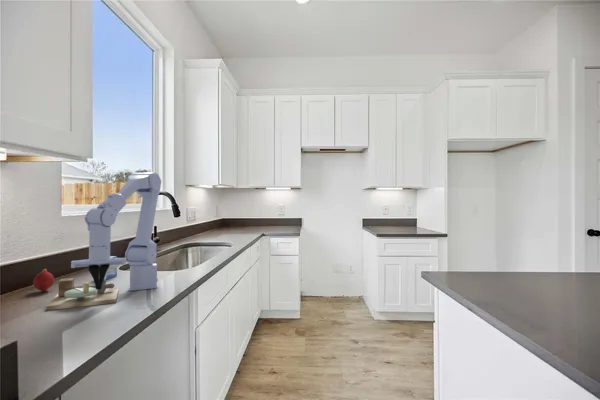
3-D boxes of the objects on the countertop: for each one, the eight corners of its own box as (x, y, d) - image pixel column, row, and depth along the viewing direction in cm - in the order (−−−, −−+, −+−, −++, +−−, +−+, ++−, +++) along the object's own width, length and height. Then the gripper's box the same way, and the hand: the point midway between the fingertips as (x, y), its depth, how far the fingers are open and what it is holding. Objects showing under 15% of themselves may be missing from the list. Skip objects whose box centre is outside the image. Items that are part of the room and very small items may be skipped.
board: (118, 291, 114) (118, 288, 114) (116, 302, 101) (116, 298, 101) (57, 297, 105) (57, 293, 105) (46, 310, 93) (46, 306, 93)
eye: (105, 289, 111) (106, 274, 111) (104, 293, 106) (104, 278, 106) (99, 290, 110) (99, 275, 110) (97, 294, 105) (97, 278, 105)
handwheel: (97, 293, 105) (98, 277, 105) (94, 300, 98) (94, 283, 98) (67, 296, 102) (67, 279, 102) (61, 304, 94) (61, 285, 94)
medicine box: (105, 280, 130) (106, 259, 130) (95, 279, 130) (95, 259, 130) (117, 275, 138) (117, 256, 138) (107, 275, 138) (107, 255, 138)
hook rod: (114, 288, 111) (115, 274, 112) (113, 291, 108) (114, 276, 108) (60, 293, 104) (61, 278, 105) (58, 296, 101) (58, 281, 101)
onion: (42, 294, 109) (42, 271, 109) (28, 293, 110) (29, 270, 110) (58, 289, 114) (58, 268, 114) (45, 288, 116) (45, 267, 116)
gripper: (69, 248, 93) (68, 294, 92) (125, 246, 99) (124, 289, 99) (73, 245, 99) (72, 288, 99) (126, 243, 105) (125, 284, 105)
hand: (98, 288), depth 99 cm, fingers closed
